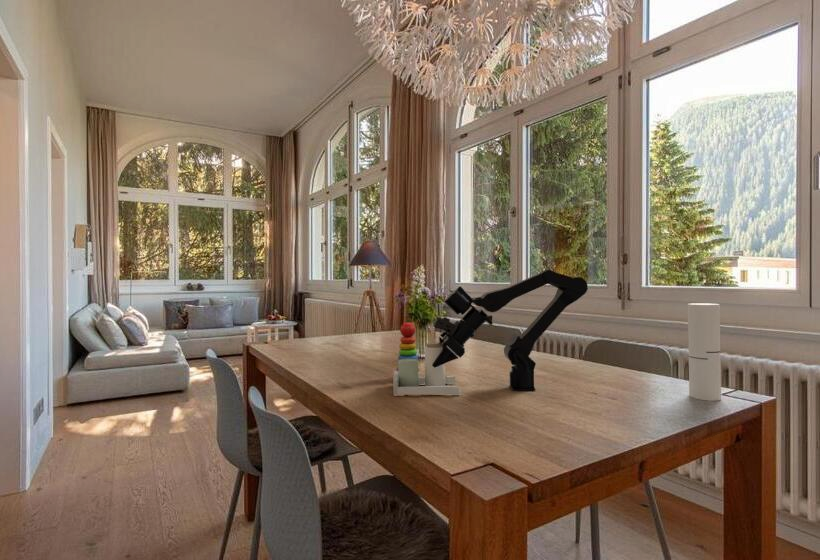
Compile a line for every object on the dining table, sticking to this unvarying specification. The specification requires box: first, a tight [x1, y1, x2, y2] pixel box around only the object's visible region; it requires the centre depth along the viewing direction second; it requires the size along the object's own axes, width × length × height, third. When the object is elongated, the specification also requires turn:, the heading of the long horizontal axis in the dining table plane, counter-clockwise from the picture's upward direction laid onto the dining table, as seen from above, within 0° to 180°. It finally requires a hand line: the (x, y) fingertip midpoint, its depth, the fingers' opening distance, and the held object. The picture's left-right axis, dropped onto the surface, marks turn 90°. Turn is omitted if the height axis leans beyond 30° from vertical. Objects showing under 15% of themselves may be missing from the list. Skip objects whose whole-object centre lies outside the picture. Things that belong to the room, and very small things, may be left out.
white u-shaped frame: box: [392, 370, 461, 396], centre depth 133 cm, size 19×15×4 cm
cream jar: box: [424, 342, 446, 386], centre depth 133 cm, size 6×6×14 cm
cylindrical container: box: [687, 302, 722, 402], centre depth 120 cm, size 7×7×25 cm
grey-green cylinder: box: [397, 359, 420, 387], centre depth 133 cm, size 6×6×9 cm
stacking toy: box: [395, 321, 421, 377], centre depth 148 cm, size 8×8×19 cm
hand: (432, 363), depth 133 cm, fingers open, 9 cm apart
